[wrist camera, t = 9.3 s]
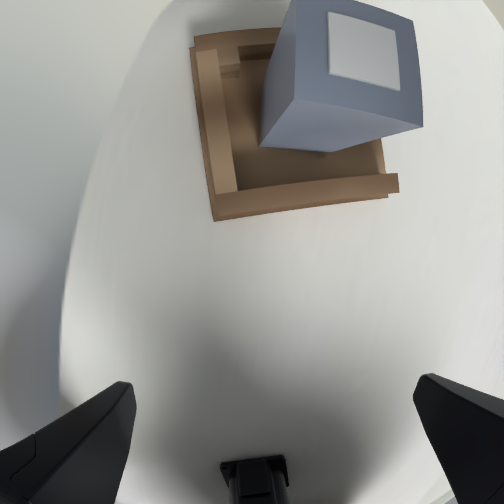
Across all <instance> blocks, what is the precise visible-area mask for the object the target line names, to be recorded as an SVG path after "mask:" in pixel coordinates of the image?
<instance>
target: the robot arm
mask: <svg viewBox="0 0 504 504" xmlns="http://www.w3.org/2000/svg"><path fill="white" fill-rule="evenodd" d="M413 401H414V404H415V406H416V409H417V411H418V414H419V416H420V419H421V422H422V424H423V427H424V430H425V432H426V435H427V437H428V439H429V441H430V443H431V445H432V447H433V449H434V451H435V453H436V455H437V457H438V460H439V462H440V464H441V466H442V468H443V470H444V472H445V475H446V477H447V479H448V481H449V483H450V486H451V488H452V490H453V493H454V495H455V497H456V499H457V502H458V504H504V400H503V399H500V398H497V397H494V396H491V395H489V394H486V393H483V392H480V391H478V390H475V389H472V388H470V387H467V386H464V385H462V384H459V383H456V382H454V381H451V380H449V379H446V378H443V377H441V376H438V375H436V374H433V373H429V374H424V375H422V376H421V377H420V378H419V381H418V383H417V386H416V388H415V391H414V394H413ZM136 409H137V405H136V400H135V395H134V389H133V386H132V384H131V383H129V382H122V381H118V382H116V383H114V384H113V385H111V386H110V387H108V388H106V389H105V390H103V391H102V392H100V393H99V394H97V395H95V396H94V397H92V398H91V399H89V400H87V401H86V402H84V403H83V404H81V405H79V406H78V407H76V408H75V409H73V410H71V411H70V412H68V413H67V414H65V415H63V416H62V417H60V418H58V419H57V420H55V421H53V422H52V423H50V424H48V425H47V426H45V427H43V428H42V429H40V430H39V431H37V432H35V434H31V435H30V436H28V437H27V438H25V439H23V440H21V441H19V442H17V443H16V444H14V445H12V446H10V447H8V448H6V449H3V450H1V451H0V504H114V503H115V499H116V496H117V492H118V488H119V485H120V481H121V478H122V475H123V471H124V468H125V465H126V461H127V458H128V454H129V449H130V444H131V438H132V432H133V427H134V421H135V416H136ZM220 470H221V472H222V475H223V477H224V479H225V481H226V484H227V486H228V488H229V501H230V504H290V503H289V498H288V493H287V489H286V487H288V486H289V481H288V474H287V467H286V460H285V457H284V456H283V455H279V456H273V457H267V458H260V459H252V460H244V461H235V462H225V463H221V464H220Z"/></svg>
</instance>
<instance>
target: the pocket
mask: <svg viewBox="0 0 504 504" xmlns="http://www.w3.org/2000/svg"><path fill="white" fill-rule="evenodd" d="M280 30H281V28H261V29H247V30H236V31H227V32H219V33H212V34H206V35H199V36H194V42H195V47H192V48H189V49H190V58H191V66H192V74H193V83H194V91H195V98H196V106H197V114H198V121H199V128H200V135H201V142H202V149H203V156H204V163H205V170H206V176H207V183H208V189H209V195H210V202H211V208H212V214H213V220H214V222H216V221H222V220H229V219H235V218H241V217H248V216H254V215H261V214H267V213H274V212H281V211H288V210H295V209H302V208H309V207H317V206H324V205H332V204H340V203H348V202H356V201H364V200H373V199H381V198H388V194H390V193H400V192H399V182H398V173H391V174H386V171H385V163H384V156H383V149H382V142H381V138H379V139H375V140H372V141H368V142H365V143H361V144H358V145H354V146H351V147H348V148H344V149H341V150H338V151H334V152H331V153H328V154H323V153H315V152H307V151H298V150H288V149H277V148H266V147H259V131H260V115H261V99H262V83H263V80H264V77H265V74H266V71H267V68H268V65H269V62H270V59H271V56H272V53H273V50H274V47H275V45H276V42H277V39H278V36H279V33H280Z"/></svg>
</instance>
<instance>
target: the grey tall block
mask: <svg viewBox="0 0 504 504" xmlns="http://www.w3.org/2000/svg"><path fill="white" fill-rule="evenodd" d="M421 127H423V106H422V89H421V77H420V67H419V58H418V50H417V43H416V37H415V30H414V25H413V21H412V20H409V19H407V18H404V17H402V16H399V15H397V14H394V13H391V12H388V11H386V10H383V9H380V8H377V7H374V6H371V5H368V4H364V3H361V2H358V1H354V0H292V1H291V3H290V6H289V9H288V11H287V14H286V17H285V19H284V22H283V25H282V28H281V30H280V33H279V36H278V39H277V42H276V45H275V47H274V50H273V53H272V56H271V59H270V62H269V65H268V68H267V71H266V74H265V77H264V80H263V83H262V99H261V115H260V131H259V147H266V148H277V149H288V150H298V151H307V152H315V153H323V154H328V153H331V152H334V151H338V150H341V149H344V148H348V147H351V146H354V145H358V144H361V143H365V142H368V141H372V140H375V139H379V138H382V137H386V136H390V135H393V134H397V133H401V132H405V131H409V130H413V129H417V128H421Z"/></svg>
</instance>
